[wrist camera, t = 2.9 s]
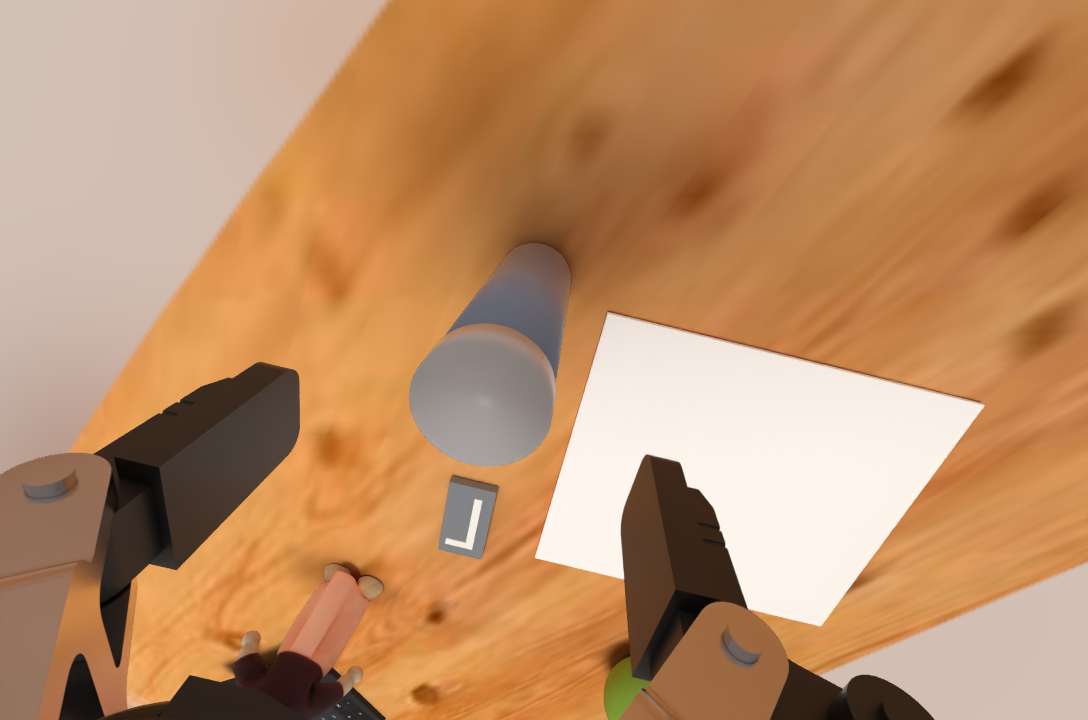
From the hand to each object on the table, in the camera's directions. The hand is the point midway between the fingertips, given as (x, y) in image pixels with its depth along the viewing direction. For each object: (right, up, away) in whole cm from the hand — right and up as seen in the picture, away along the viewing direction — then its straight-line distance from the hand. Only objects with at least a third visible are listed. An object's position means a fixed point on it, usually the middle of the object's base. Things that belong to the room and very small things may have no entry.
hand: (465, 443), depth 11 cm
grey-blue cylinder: (+1, +6, +13) cm, 15 cm away
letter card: (-3, -8, +20) cm, 22 cm away
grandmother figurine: (-13, -14, +24) cm, 31 cm away
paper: (+13, -6, +18) cm, 23 cm away
